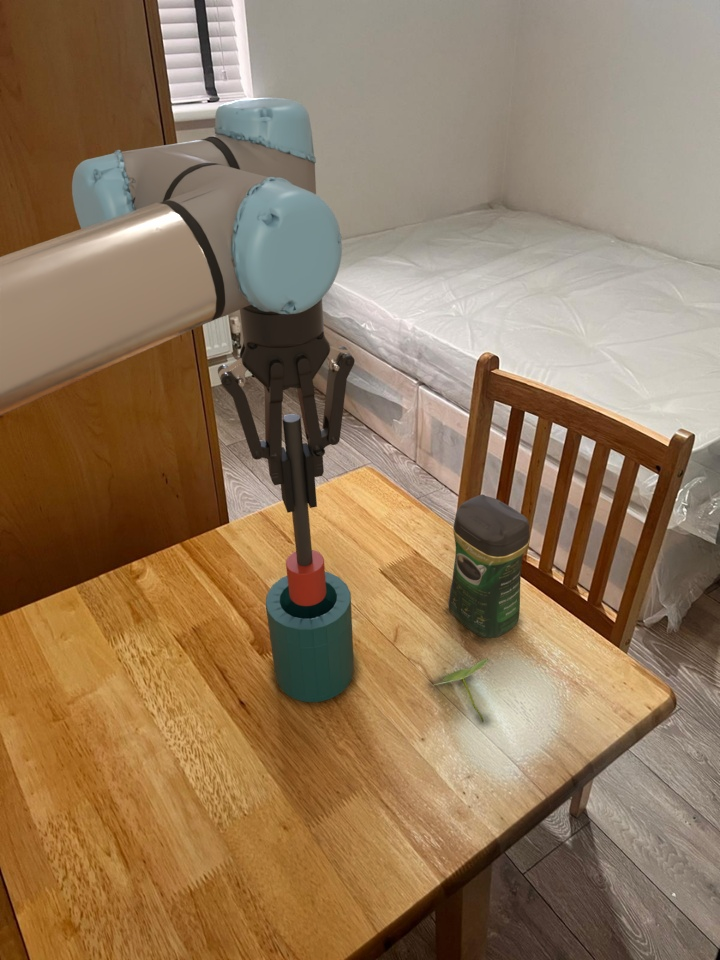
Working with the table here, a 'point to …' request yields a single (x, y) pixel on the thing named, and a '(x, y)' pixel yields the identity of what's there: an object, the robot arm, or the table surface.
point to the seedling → (464, 673)
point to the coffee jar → (488, 566)
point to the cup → (311, 641)
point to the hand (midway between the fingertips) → (299, 502)
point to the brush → (301, 526)
